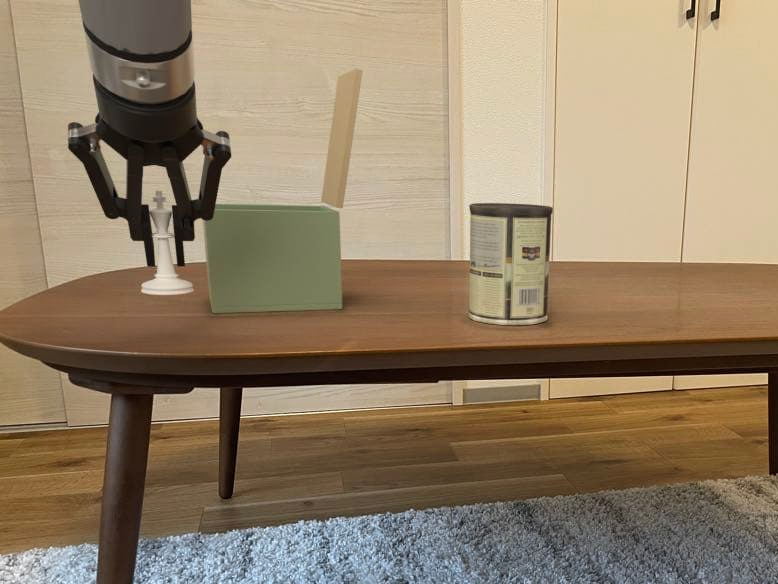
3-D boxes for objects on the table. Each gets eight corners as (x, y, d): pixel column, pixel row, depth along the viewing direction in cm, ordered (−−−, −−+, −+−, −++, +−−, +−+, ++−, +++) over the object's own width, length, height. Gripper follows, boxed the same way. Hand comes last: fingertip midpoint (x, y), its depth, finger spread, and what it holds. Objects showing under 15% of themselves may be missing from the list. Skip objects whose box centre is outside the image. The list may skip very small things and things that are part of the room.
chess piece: (202, 288, 82) (194, 191, 79) (180, 296, 77) (171, 193, 75) (155, 286, 82) (146, 188, 79) (131, 293, 78) (120, 190, 75)
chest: (212, 313, 94) (204, 209, 91) (209, 297, 104) (201, 203, 101) (342, 309, 101) (339, 211, 97) (327, 294, 111) (324, 205, 107)
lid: (355, 68, 93) (362, 70, 93) (338, 76, 103) (344, 77, 103) (335, 207, 97) (342, 208, 97) (320, 201, 107) (327, 202, 107)
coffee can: (496, 307, 107) (499, 201, 102) (561, 317, 102) (567, 207, 98) (451, 318, 98) (452, 203, 94) (520, 329, 93) (525, 209, 89)
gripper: (34, 101, 58) (83, 286, 78) (248, 116, 65) (245, 284, 84) (35, 32, 61) (82, 227, 81) (240, 53, 68) (238, 229, 87)
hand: (165, 255), depth 82 cm, fingers closed on chess piece, 2 cm apart
